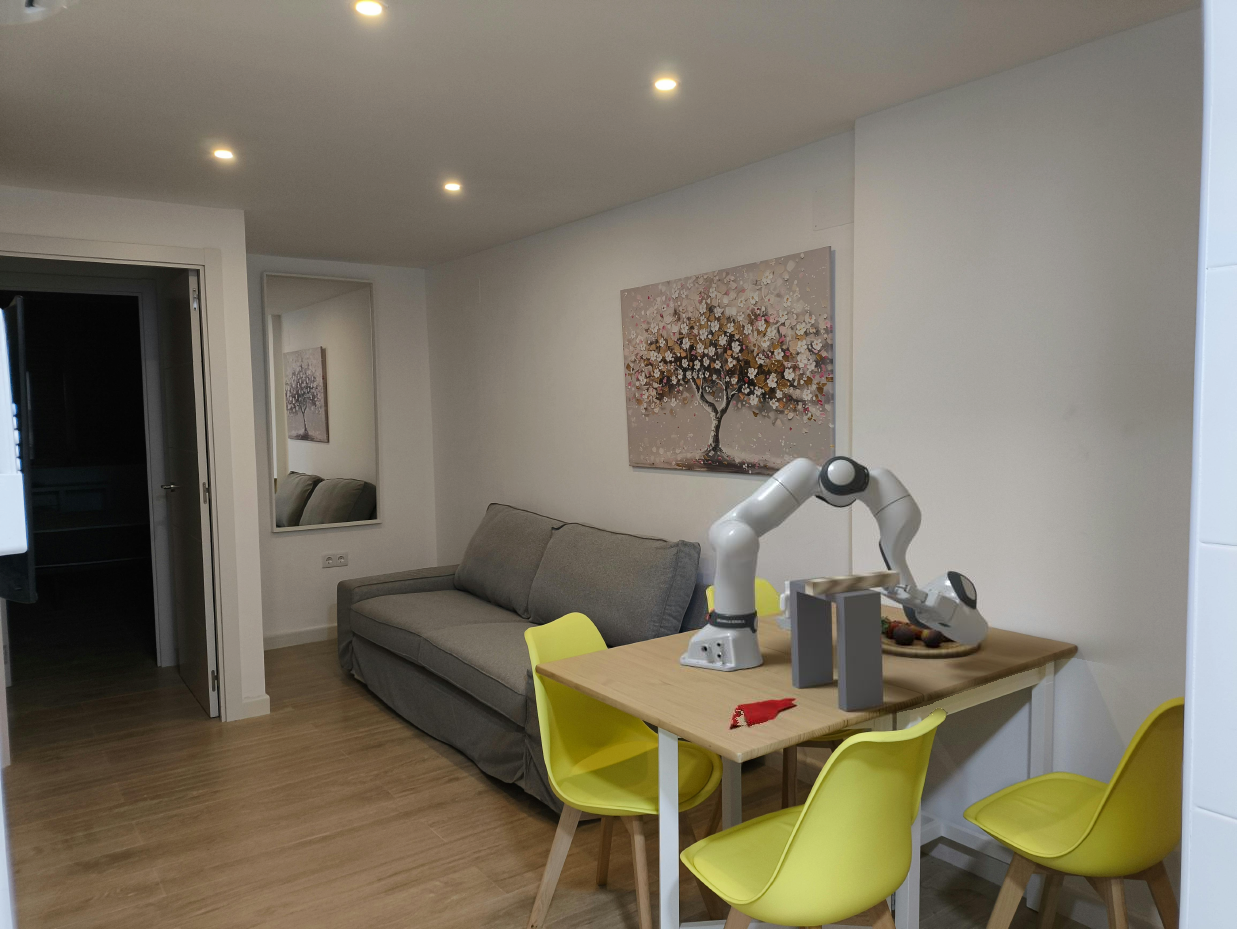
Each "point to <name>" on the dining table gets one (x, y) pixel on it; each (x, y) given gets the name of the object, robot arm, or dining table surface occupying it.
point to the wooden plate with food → (919, 642)
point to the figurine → (785, 608)
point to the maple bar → (852, 582)
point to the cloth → (761, 711)
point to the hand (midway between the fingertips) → (893, 584)
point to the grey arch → (838, 643)
